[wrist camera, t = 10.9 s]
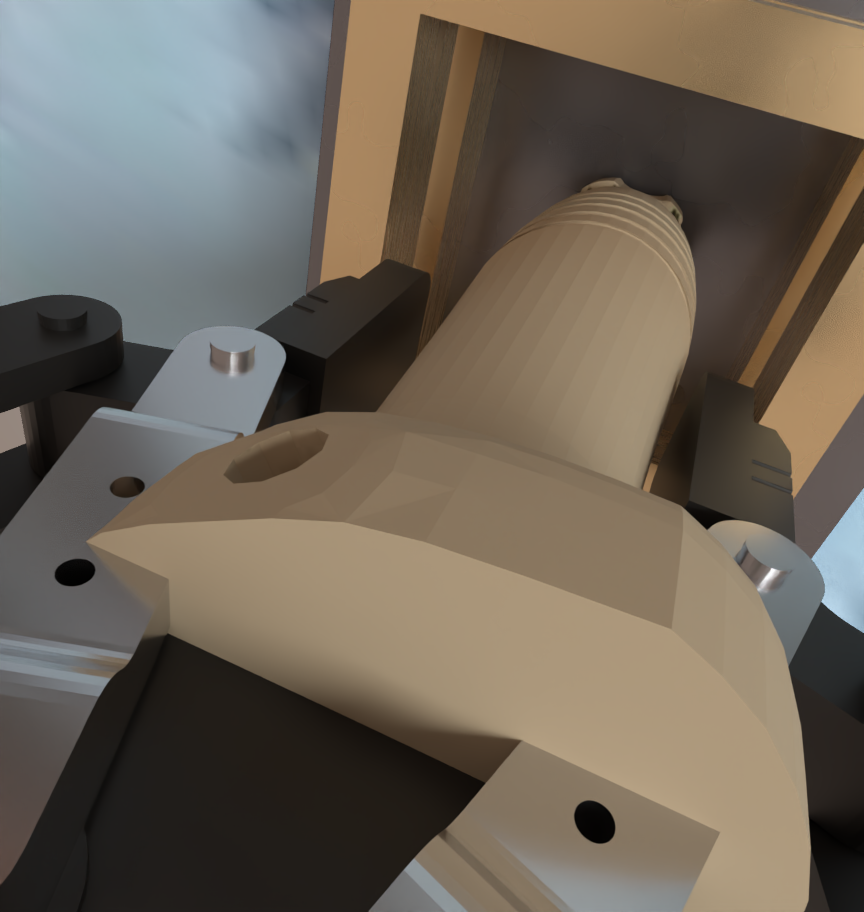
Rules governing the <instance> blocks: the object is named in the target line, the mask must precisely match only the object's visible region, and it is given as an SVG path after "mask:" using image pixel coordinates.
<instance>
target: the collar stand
mask: <svg viewBox="0 0 864 912" xmlns="http://www.w3.org/2000/svg"><path fill="white" fill-rule="evenodd" d="M611 177H615V178H621V179H622V180H623V182H624V184H626V185H627V186H629V187H630V188H632V189H634V190H637V191H640V192H642V193H645V194H648V195H652V196H665V195H669V196H671V197H672V198H673V199H674V201H675V202H676V203H677V204H678V206H679V207H680V209H681V211H682V212H683V221H682V223H681V228H682V230H683V231H684V233H685V236H686V238H687V241H688V243H689V246H690V250H691V254H692V258H693V262H694V267H695V280H696V311H695V319H694V327H693V333H692V339H691V344H690V348H689V354H688V357H687V360H686V363H685V366H684V370H683V372H682V375H681V378H680V381H679V384H678V387H677V390H676V392H675V395H674V398H673V401H672V404H671V407H670V410H669V412H668V415H667V418H666V421H665V424H664V427H663V430H662V432H661V435H660V438H659V441H658V444H657V447H656V449H655V452H654V455H653V458H652V461H651V464H650V467H649V470H648V474H647V477H646V480H645V483H644V487H643V490H644V491H646V492H650V488H651V484H652V481H653V478H654V475H655V472H656V470H657V467H658V465H659V462H660V460H661V458H662V456H663V453H664V451H665V449H666V447H667V445H668V443H669V441H670V439H671V437H672V435H673V433H674V431H675V429H676V427H677V425H678V423H679V421H680V419H681V417H682V415H683V413H684V411H685V409H686V407H687V405H688V403H689V401H690V399H691V397H692V395H693V393H694V391H695V389H696V387H697V385H698V383H699V381H700V380H701V378H702V376H703V375H704V374H705V372H709V373H712V374H715V375H718V376H721V377H723V378H726V379H729V380H732V381H735V382H738V383H740V384H743V385H746V386H749V387H752V388H754V420H753V422H755V423H758V424H760V425H763V426H766V427H769V428H771V429H774V430H776V431H777V433H778V434H779V436H780V437H781V439H782V440H783V442H784V443H785V445H786V446H787V448H788V450H789V451H790V453H791V466H792V475H791V478H792V485H793V491H792V494H791V495H793V505H794V524H795V544H796V545H797V546H798V547H799V548H801V549H802V550H803V551H804V552H805V553H806V554H807V555H808V556H809V557H810V558H812V557H813V556H814V554H815V553H816V552H817V550H818V549H819V548H820V546H821V545H822V543H823V542H824V541H825V539H826V538H827V537H828V535H829V534H830V533H831V531H832V530H833V529H834V527H835V526H836V525H837V523H838V522H839V520H840V519H841V518H842V516H843V515H844V514H845V512H846V511H847V510H848V508H849V507H850V506H851V504H852V503H853V501H854V500H855V499H856V497H857V496H858V495H859V493H860V492H861V491H862V489H863V488H864V0H335V4H334V14H333V25H332V35H331V45H330V55H329V65H328V75H327V86H326V96H325V106H324V116H323V126H322V137H321V147H320V157H319V167H318V177H317V187H316V198H315V208H314V218H313V228H312V238H311V248H310V259H309V269H308V279H307V289H306V296H307V293H308V292H310V291H311V290H313V289H314V288H316V287H317V286H318V285H320V284H321V283H323V282H325V281H329V280H333V279H337V278H342V277H346V276H353V277H355V278H358V279H360V278H361V277H362V276H364V275H365V274H366V273H368V272H369V271H370V270H372V269H373V268H374V267H376V266H377V265H378V264H380V263H381V262H383V261H384V260H386V259H391V260H394V261H396V262H399V263H402V264H405V265H408V266H411V267H413V268H416V269H419V270H422V271H425V272H428V273H429V274H430V277H431V285H430V291H429V296H428V301H427V306H426V311H425V315H424V320H423V325H422V330H421V334H420V339H419V344H418V349H417V353H416V358H417V357H418V356H419V354H420V353H421V352H422V350H423V349H424V348H425V346H426V345H427V344H428V342H429V341H430V340H431V338H432V337H433V336H434V334H435V333H436V331H437V330H438V329H439V327H440V326H441V324H442V323H443V322H444V320H445V319H446V318H447V316H448V315H449V313H450V312H451V311H452V309H453V308H454V306H455V305H456V304H457V302H458V301H459V300H460V298H461V297H462V295H463V294H464V293H465V291H466V290H467V288H468V287H469V286H470V284H471V283H472V282H473V280H474V279H475V277H476V276H477V275H478V273H479V272H480V270H481V269H482V268H483V266H484V265H485V264H486V262H487V261H488V260H489V259H490V258H491V257H492V256H493V255H494V254H495V253H496V252H497V251H498V250H499V249H500V248H501V247H502V246H503V245H504V244H505V243H506V242H507V241H508V240H509V239H510V238H511V237H512V236H513V235H515V234H516V233H517V232H518V231H519V230H520V229H521V228H522V227H524V226H525V225H526V224H528V223H529V222H530V221H532V220H533V219H534V218H536V217H537V216H539V215H540V214H541V213H543V212H544V211H546V210H547V209H548V208H550V207H551V206H553V205H555V204H556V203H558V202H560V201H562V200H564V199H566V198H568V197H570V196H572V195H574V194H577V193H581V190H582V188H584V187H586V186H587V185H589V184H590V183H592V182H594V181H597V180H600V179H603V178H611ZM416 358H415V360H416Z"/></svg>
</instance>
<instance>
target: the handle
mask: <svg viewBox="0 0 864 912" xmlns="http://www.w3.org/2000/svg"><path fill="white" fill-rule="evenodd" d="M682 221H683V212H682V211H681V209H680V207H679V206H678V204H677V203H676V202H675V201H674V199H673V198H672V197H671V196H669V195H665V196H652V195H648V194H645V193H642V192H640V191H637V190H634V189H632V188H630V187H629V186H627V185H626V184H624V182H623V180H622V179H621V178H615V177H611V178H603V179H600V180H597V181H594V182H592V183H590V184H589V185H587V186H586V187H584V188H582V190H581V193H577V194H574V195H572V196H570V197H568V198H566V199H564V200H562V201H560V202H558V203H556V204H555V205H553V206H551V207H550V208H548V209H547V210H546V211H544V212H543V213H541V214H540V215H539V216H537V217H536V218H534V219H533V220H532V221H530V222H529V223H528V224H526V225H525V226H524V227H522V228H521V229H520V230H519V231H518V232H517V233H516V234H515V235H513V236H512V237H511V238H510V239H509V240H508V241H507V242H506V243H505V244H504V245H503V246H502V247H501V248H500V249H499V250H498V251H497V252H496V253H495V254H494V255H493V256H492V257H491V258H490V259H489V260H488V261H487V262H486V264H485V265H484V266H483V268H482V269H481V270H480V272H479V273H478V275H477V276H476V277H475V279H474V280H473V282H472V283H471V284H470V286H469V287H468V288H467V290H466V291H465V293H464V294H463V295H462V297H461V298H460V300H459V301H458V302H457V304H456V305H455V306H454V308H453V309H452V311H451V312H450V313H449V315H448V316H447V318H446V319H445V320H444V322H443V323H442V324H441V326H440V327H439V329H438V330H437V331H436V333H435V334H434V336H433V337H432V338H431V340H430V341H429V342H428V344H427V345H426V346H425V348H424V349H423V350H422V352H421V353H420V354H419V356H418V357H417V358H416V360H415V361H414V362H413V364H412V365H411V366H410V368H409V369H408V370H407V371H406V373H405V374H404V375H403V377H402V378H401V379H400V381H399V382H398V383H397V385H396V386H395V387H394V389H393V390H392V391H391V393H390V394H389V395H388V397H387V398H386V399H385V401H384V402H383V403H382V404H381V406H380V407H379V408H378V410H377V411H376V412H324V413H320V414H316V415H312V416H308V417H304V418H300V419H297V420H293V421H289V422H285V423H281V424H277V425H274V426H272V427H270V428H267V429H265V430H262V431H260V432H257V433H254V434H251V435H248V436H245V437H242V438H239V439H236V440H234V441H231V442H228V443H225V444H222V445H219V446H216V447H213V448H211V449H208V450H205V451H202V452H199V453H196V454H195V455H193V456H192V457H190V458H189V459H187V460H186V461H185V462H183V463H182V464H180V465H179V466H177V467H176V468H175V469H173V470H172V471H171V472H169V473H168V474H167V475H166V476H164V477H163V478H162V479H160V480H159V481H158V482H156V483H155V484H154V485H152V486H151V487H150V488H148V489H147V490H145V491H144V492H143V493H141V494H140V495H139V496H137V497H136V498H135V499H134V500H133V501H132V502H131V503H130V504H128V505H127V506H126V507H125V508H124V509H123V510H122V511H121V512H120V513H119V514H118V515H117V516H115V517H114V518H113V519H112V520H111V521H110V522H109V523H108V524H106V525H105V526H104V527H103V528H102V529H100V530H99V531H98V532H97V533H95V534H94V535H93V536H92V537H91V538H89V539H88V540H87V541H86V542H88V543H90V544H92V545H95V546H97V547H99V548H101V549H103V550H106V551H108V552H110V553H112V554H114V555H117V556H119V557H121V558H123V559H126V560H128V561H130V562H132V563H134V564H137V565H139V566H141V567H143V568H145V569H148V570H150V571H152V572H154V573H156V574H159V575H161V576H163V577H165V578H168V579H169V598H170V628H169V630H168V632H167V633H169V634H171V635H173V636H175V637H177V638H179V639H181V640H184V641H186V642H188V643H190V644H192V645H194V646H196V647H199V648H201V649H203V650H205V651H207V652H209V653H211V654H214V655H216V656H218V657H220V658H222V659H224V660H227V661H229V662H231V663H233V664H235V665H237V666H239V667H241V668H244V669H246V670H248V671H250V672H252V673H254V674H256V675H259V676H261V677H263V678H265V679H267V680H269V681H271V682H274V683H276V684H278V685H280V686H282V687H284V688H286V689H288V690H291V691H293V692H295V693H297V694H299V695H301V696H303V697H306V698H308V699H310V700H312V701H314V702H316V703H318V704H320V705H323V706H325V707H327V708H329V709H331V710H333V711H335V712H338V713H340V714H342V715H344V716H346V717H348V718H350V719H352V720H355V721H357V722H359V723H361V724H363V725H365V726H367V727H369V728H371V729H374V730H376V731H378V732H380V733H382V734H384V735H386V736H388V737H390V738H393V739H395V740H397V741H399V742H401V743H403V744H405V745H407V746H410V747H412V748H414V749H416V750H418V751H420V752H422V753H424V754H426V755H428V756H431V757H433V758H435V759H437V760H439V761H441V762H443V763H445V764H447V765H449V766H451V767H454V768H456V769H458V770H460V771H462V772H464V773H466V774H468V775H470V776H472V777H474V778H476V779H479V780H481V781H483V782H485V783H487V781H488V780H489V779H490V778H491V777H492V775H493V774H494V773H495V772H496V771H497V770H498V768H499V767H500V766H501V765H502V764H503V762H504V761H505V760H506V759H507V758H508V756H509V755H510V754H511V753H512V752H513V750H514V749H515V748H516V747H517V746H518V745H519V743H520V742H521V741H522V740H523V741H525V742H527V743H529V744H531V745H533V746H536V747H538V748H540V749H542V750H544V751H546V752H549V753H551V754H553V755H555V756H557V757H559V758H562V759H564V760H566V761H568V762H570V763H572V764H575V765H577V766H579V767H581V768H583V769H585V770H587V771H590V772H592V773H594V774H596V775H598V776H600V777H603V778H605V779H607V780H609V781H611V782H613V783H615V784H618V785H620V786H622V787H624V788H626V789H628V790H631V791H633V792H635V793H637V794H639V795H641V796H644V797H646V798H648V799H650V800H652V801H654V802H656V803H659V804H661V805H663V806H665V807H667V808H669V809H672V810H674V811H676V812H678V813H680V814H682V815H685V816H687V817H689V818H691V819H693V820H695V821H697V822H700V823H702V824H704V825H706V826H708V827H710V828H713V829H715V830H717V831H719V832H720V834H719V836H718V838H717V840H716V842H715V844H714V846H713V848H712V851H711V853H710V855H709V857H708V859H707V861H706V863H705V865H704V867H703V869H702V871H701V873H700V875H699V877H698V879H697V881H696V884H695V886H694V888H693V890H692V892H691V894H690V896H689V898H688V900H687V902H686V904H685V906H684V908H683V910H682V912H804V911H805V908H806V906H807V903H808V900H809V878H810V856H811V845H810V830H809V816H808V802H807V788H806V774H805V763H804V753H803V742H802V731H801V724H800V719H799V714H798V709H797V704H796V700H795V695H794V691H793V686H792V682H791V677H790V672H789V668H788V663H787V659H786V654H785V650H784V647H783V645H782V643H781V640H780V638H779V636H778V634H777V632H776V629H775V627H774V625H773V623H772V621H771V619H770V617H769V614H768V612H767V610H766V608H765V606H764V604H763V601H762V599H761V597H760V595H759V593H758V591H757V588H756V586H755V585H754V584H753V583H752V581H751V580H750V579H749V578H748V576H747V575H746V574H745V573H744V571H743V570H742V569H741V568H740V566H739V565H738V564H737V563H736V561H735V560H734V559H733V558H732V557H731V555H730V554H729V553H728V552H727V550H726V549H725V548H724V547H723V545H722V544H721V543H720V542H719V541H718V540H717V539H716V538H715V537H714V536H713V535H712V534H710V533H709V532H708V531H707V530H706V529H705V528H704V527H703V526H702V525H701V524H700V523H699V522H698V521H697V520H696V519H695V518H694V517H692V516H691V515H690V514H689V513H688V512H687V511H686V510H685V509H684V508H683V507H682V506H681V505H678V504H676V503H673V502H671V501H668V500H666V499H664V498H661V497H659V496H656V495H654V494H651V493H649V492H646V491H644V490H643V487H644V483H645V480H646V477H647V474H648V470H649V467H650V464H651V461H652V458H653V455H654V452H655V449H656V447H657V444H658V441H659V438H660V435H661V432H662V430H663V427H664V424H665V421H666V418H667V415H668V412H669V410H670V407H671V404H672V401H673V398H674V395H675V392H676V390H677V387H678V384H679V381H680V378H681V375H682V372H683V370H684V366H685V363H686V360H687V357H688V354H689V348H690V344H691V339H692V333H693V327H694V319H695V311H696V280H695V267H694V262H693V258H692V254H691V250H690V246H689V243H688V241H687V238H686V236H685V233H684V231H683V230H682V228H681V223H682Z"/></svg>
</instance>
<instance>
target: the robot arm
mask: <svg viewBox="0 0 864 912" xmlns="http://www.w3.org/2000/svg"><path fill="white" fill-rule="evenodd" d="M430 285H431V277H430V274H429V273H428V272H425V271H422V270H419V269H416V268H413V267H411V266H408V265H405V264H402V263H399V262H396V261H394V260H391V259H386V260H384V261H383V262H381V263H380V264H378V265H377V266H376V267H374V268H373V269H372V270H370V271H369V272H368V273H366V274H365V275H364V276H362V277H361V278H360V279H358V278H355V277H353V276H346V277H342V278H337V279H333V280H329V281H325V282H323V283H321V284H320V285H318V286H317V287H316V288H314V289H313V290H311V291H310V292H308V293H307V296H303V297H301V298H300V299H298V300H297V301H295V302H294V303H293V306H290V305H289V306H288V307H287V308H285V309H284V310H282V311H281V312H279V313H278V314H276V315H275V316H274V317H272V318H271V319H269V320H268V321H266V322H265V323H263V324H262V325H261V326H259V327H258V328H256V329H255V330H253V329H249V328H244V327H238V326H214V327H207V328H202V329H199V330H196V331H194V332H192V333H190V334H188V335H187V336H185V337H184V338H183V339H182V340H181V341H180V342H179V344H178V345H177V346H176V348H175V349H174V350H169V349H163V348H158V347H152V346H147V345H141V344H136V343H130V342H125V341H123V332H122V319H121V316H120V314H119V313H118V312H117V310H115V309H114V308H113V307H112V306H110V305H108V304H106V303H104V302H101V301H99V300H96V299H92V298H88V297H83V296H75V295H50V296H42V297H37V298H32V299H28V300H24V301H20V302H16V303H12V304H8V305H4V306H0V413H2V412H5V411H8V410H11V409H13V408H16V407H20V412H21V417H22V423H23V428H24V434H25V439H26V444H23V445H21V446H18V447H16V448H13V449H10V450H8V451H5V452H3V453H0V912H682V910H683V908H684V906H685V904H686V902H687V900H688V898H689V896H690V894H691V892H692V890H693V888H694V886H695V884H696V881H697V879H698V877H699V875H700V873H701V871H702V869H703V867H704V865H705V863H706V861H707V859H708V857H709V855H710V853H711V851H712V848H713V846H714V844H715V842H716V840H717V838H718V836H719V834H720V832H719V831H717V830H715V829H713V828H710V827H708V826H706V825H704V824H702V823H700V822H697V821H695V820H693V819H691V818H689V817H687V816H685V815H682V814H680V813H678V812H676V811H674V810H672V809H669V808H667V807H665V806H663V805H661V804H659V803H656V802H654V801H652V800H650V799H648V798H646V797H644V796H641V795H639V794H637V793H635V792H633V791H631V790H628V789H626V788H624V787H622V786H620V785H618V784H615V783H613V782H611V781H609V780H607V779H605V778H603V777H600V776H598V775H596V774H594V773H592V772H590V771H587V770H585V769H583V768H581V767H579V766H577V765H575V764H572V763H570V762H568V761H566V760H564V759H562V758H559V757H557V756H555V755H553V754H551V753H549V752H546V751H544V750H542V749H540V748H538V747H536V746H533V745H531V744H529V743H527V742H525V741H523V740H522V741H521V742H520V743H519V745H518V746H517V747H516V748H515V749H514V750H513V752H512V753H511V754H510V755H509V756H508V758H507V759H506V760H505V761H504V762H503V764H502V765H501V766H500V767H499V768H498V770H497V771H496V772H495V773H494V774H493V775H492V777H491V778H490V779H489V780H488V781H487V783H485V782H483V781H481V780H479V779H476V778H474V777H472V776H470V775H468V774H466V773H464V772H462V771H460V770H458V769H456V768H454V767H451V766H449V765H447V764H445V763H443V762H441V761H439V760H437V759H435V758H433V757H431V756H428V755H426V754H424V753H422V752H420V751H418V750H416V749H414V748H412V747H410V746H407V745H405V744H403V743H401V742H399V741H397V740H395V739H393V738H390V737H388V736H386V735H384V734H382V733H380V732H378V731H376V730H374V729H371V728H369V727H367V726H365V725H363V724H361V723H359V722H357V721H355V720H352V719H350V718H348V717H346V716H344V715H342V714H340V713H338V712H335V711H333V710H331V709H329V708H327V707H325V706H323V705H320V704H318V703H316V702H314V701H312V700H310V699H308V698H306V697H303V696H301V695H299V694H297V693H295V692H293V691H291V690H288V689H286V688H284V687H282V686H280V685H278V684H276V683H274V682H271V681H269V680H267V679H265V678H263V677H261V676H259V675H256V674H254V673H252V672H250V671H248V670H246V669H244V668H241V667H239V666H237V665H235V664H233V663H231V662H229V661H227V660H224V659H222V658H220V657H218V656H216V655H214V654H211V653H209V652H207V651H205V650H203V649H201V648H199V647H196V646H194V645H192V644H190V643H188V642H186V641H184V640H181V639H179V638H177V637H175V636H173V635H171V634H169V633H167V632H168V630H169V628H170V598H169V579H168V578H165V577H163V576H161V575H159V574H156V573H154V572H152V571H150V570H148V569H145V568H143V567H141V566H139V565H137V564H134V563H132V562H130V561H128V560H126V559H123V558H121V557H119V556H117V555H114V554H112V553H110V552H108V551H106V550H103V549H101V548H99V547H97V546H95V545H92V544H90V543H88V542H86V541H87V540H88V539H89V538H91V537H92V536H93V535H94V534H95V533H97V532H98V531H99V530H100V529H102V528H103V527H104V526H105V525H106V524H108V523H109V522H110V521H111V520H112V519H113V518H114V517H115V516H117V515H118V514H119V513H120V512H121V511H122V510H123V509H124V508H125V507H126V506H127V505H128V504H130V503H131V502H132V501H133V500H134V499H135V498H136V497H137V496H139V495H140V494H141V493H143V492H144V491H145V490H147V489H148V488H150V487H151V486H152V485H154V484H155V483H156V482H158V481H159V480H160V479H162V478H163V477H164V476H166V475H167V474H168V473H169V472H171V471H172V470H173V469H175V468H176V467H177V466H179V465H180V464H182V463H183V462H185V461H186V460H187V459H189V458H190V457H192V456H193V455H195V454H196V453H199V452H202V451H205V450H208V449H211V448H213V447H216V446H219V445H222V444H225V443H228V442H231V441H234V440H236V439H239V438H242V437H245V436H248V435H251V434H254V433H257V432H260V431H262V430H265V429H267V428H270V427H272V426H274V425H277V424H281V423H285V422H289V421H293V420H297V419H300V418H304V417H308V416H312V415H316V414H320V413H324V412H376V411H377V410H378V408H379V407H380V406H381V404H382V403H383V402H384V401H385V399H386V398H387V397H388V395H389V394H390V393H391V391H392V390H393V389H394V387H395V386H396V385H397V383H398V382H399V381H400V379H401V378H402V377H403V375H404V374H405V373H406V371H407V370H408V369H409V368H410V366H411V365H412V364H413V362H414V361H415V358H416V353H417V349H418V344H419V339H420V334H421V330H422V325H423V320H424V315H425V311H426V306H427V301H428V296H429V291H430ZM753 420H754V388H752V387H749V386H746V385H743V384H740V383H738V382H735V381H732V380H729V379H726V378H723V377H721V376H718V375H715V374H712V373H709V372H705V374H704V375H703V376H702V378H701V380H700V381H699V383H698V385H697V387H696V389H695V391H694V393H693V395H692V397H691V399H690V401H689V403H688V405H687V407H686V409H685V411H684V413H683V415H682V417H681V419H680V421H679V423H678V425H677V427H676V429H675V431H674V433H673V435H672V437H671V439H670V441H669V443H668V445H667V447H666V449H665V451H664V453H663V456H662V458H661V460H660V462H659V465H658V467H657V470H656V472H655V475H654V478H653V481H652V484H651V488H650V492H649V493H651V494H654V495H656V496H659V497H661V498H664V499H666V500H668V501H671V502H673V503H676V504H678V505H681V506H682V507H683V508H684V509H685V510H686V511H687V512H688V513H689V514H690V515H691V516H692V517H694V518H695V519H696V520H697V521H698V522H699V523H700V524H701V525H702V526H703V527H704V528H705V529H706V530H707V531H708V532H709V533H710V534H712V535H713V536H714V537H715V538H716V539H717V540H718V541H719V542H720V543H721V544H722V545H723V547H724V548H725V549H726V550H727V552H728V553H729V554H730V555H731V557H732V558H733V559H734V560H735V561H736V563H737V564H738V565H739V566H740V568H741V569H742V570H743V571H744V573H745V574H746V575H747V576H748V578H749V579H750V580H751V581H752V583H753V584H754V585H755V586H756V588H757V591H758V593H759V595H760V597H761V599H762V601H763V604H764V606H765V608H766V610H767V612H768V614H769V617H770V619H771V621H772V623H773V625H774V627H775V629H776V632H777V634H778V636H779V638H780V640H781V643H782V645H783V647H784V650H785V654H786V659H787V663H788V668H789V672H790V677H791V682H792V686H793V691H794V695H795V700H796V704H797V709H798V714H799V719H800V724H801V731H802V742H803V753H804V763H805V774H806V788H807V802H808V816H809V830H810V845H811V856H810V878H809V900H808V903H807V906H806V908H805V911H804V912H864V633H862V632H861V631H859V630H858V629H856V628H855V627H853V626H851V625H850V624H848V623H847V622H845V621H844V620H842V619H841V618H840V617H838V616H837V615H836V614H834V613H833V612H832V611H831V610H829V609H828V608H827V607H826V606H825V605H824V604H823V603H822V602H821V601H822V599H823V596H824V593H825V584H824V580H823V577H822V575H821V573H820V571H819V569H818V568H817V566H816V565H815V563H814V562H813V561H812V560H811V558H810V557H809V556H808V555H807V554H806V553H805V552H804V551H803V550H802V549H801V548H799V547H798V546H797V545H796V544H795V524H794V505H793V495H791V494H792V491H793V485H792V478H791V475H792V466H791V453H790V451H789V450H788V448H787V446H786V445H785V443H784V442H783V440H782V439H781V437H780V436H779V434H778V433H777V431H776V430H774V429H771V428H769V427H766V426H763V425H760V424H758V423H755V422H753Z"/></svg>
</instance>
